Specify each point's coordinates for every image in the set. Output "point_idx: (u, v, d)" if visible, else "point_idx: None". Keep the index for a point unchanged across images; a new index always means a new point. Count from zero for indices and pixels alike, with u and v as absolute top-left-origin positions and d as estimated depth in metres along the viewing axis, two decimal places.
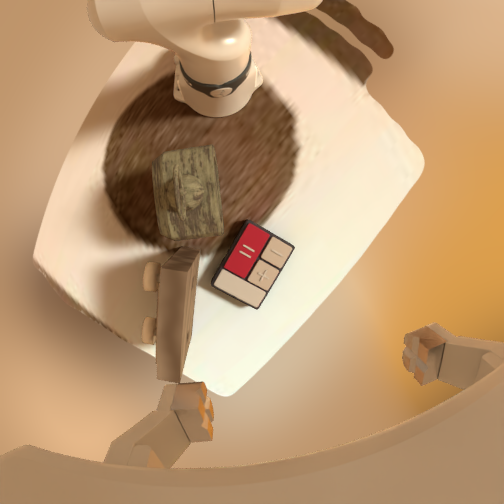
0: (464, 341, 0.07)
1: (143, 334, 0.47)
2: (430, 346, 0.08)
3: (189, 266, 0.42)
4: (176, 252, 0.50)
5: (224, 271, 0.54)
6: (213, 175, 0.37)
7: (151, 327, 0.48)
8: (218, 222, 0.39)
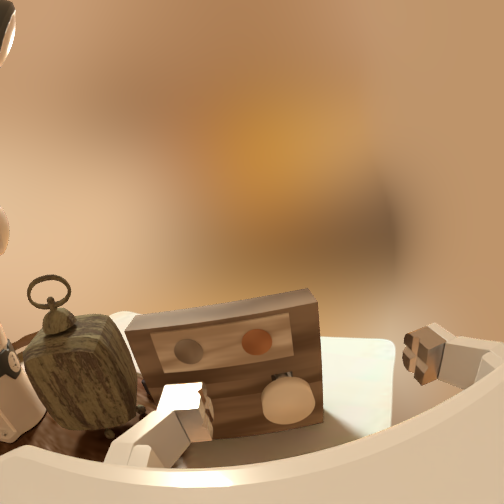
0: (464, 341, 0.07)
1: (282, 388, 0.24)
2: (430, 346, 0.08)
3: None
4: None
5: None
6: None
7: (267, 387, 0.25)
8: (98, 314, 0.33)
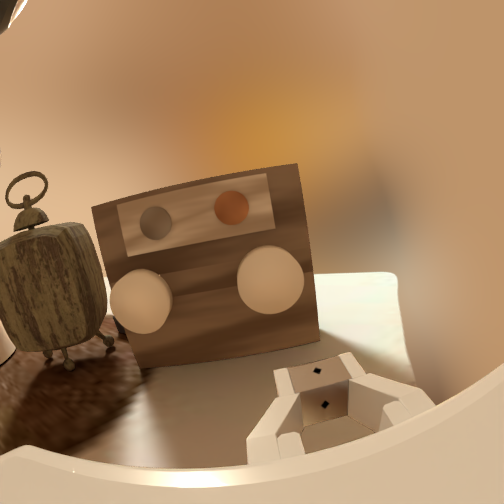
0: (372, 381, 0.07)
1: (261, 251, 0.21)
2: (328, 382, 0.08)
3: None
4: None
5: None
6: None
7: (243, 259, 0.23)
8: (72, 222, 0.31)
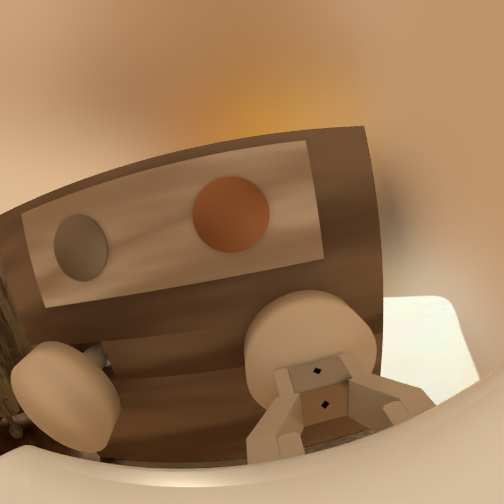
0: (372, 381, 0.07)
1: (297, 310, 0.09)
2: (328, 382, 0.08)
3: None
4: None
5: None
6: None
7: (256, 319, 0.11)
8: None
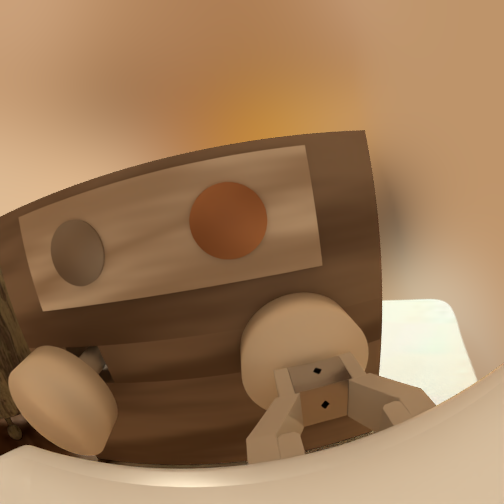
0: (372, 381, 0.07)
1: (290, 312, 0.10)
2: (328, 382, 0.08)
3: None
4: None
5: None
6: None
7: (252, 320, 0.11)
8: None
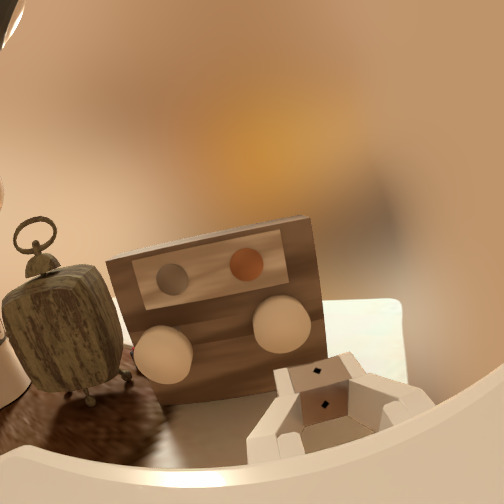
0: (372, 381, 0.07)
1: (273, 303, 0.24)
2: (328, 382, 0.08)
3: None
4: None
5: None
6: None
7: (257, 307, 0.26)
8: (83, 264, 0.32)
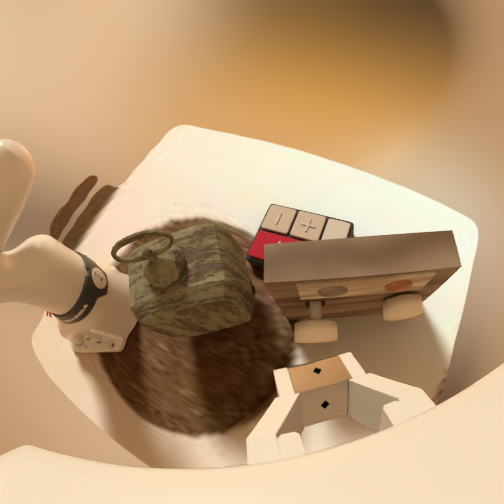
0: (372, 381, 0.07)
1: (406, 308, 0.27)
2: (328, 381, 0.08)
3: None
4: (282, 309, 0.36)
5: None
6: (151, 242, 0.32)
7: (392, 299, 0.29)
8: (201, 225, 0.32)
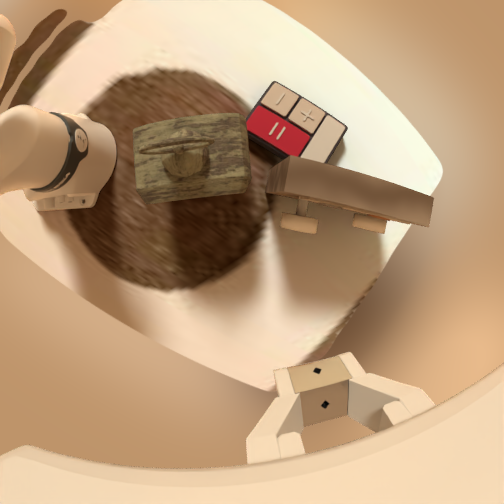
0: (373, 381, 0.07)
1: (374, 229, 0.37)
2: (328, 382, 0.08)
3: (284, 160, 0.32)
4: (270, 191, 0.40)
5: None
6: (166, 121, 0.27)
7: (366, 217, 0.37)
8: (226, 114, 0.28)
